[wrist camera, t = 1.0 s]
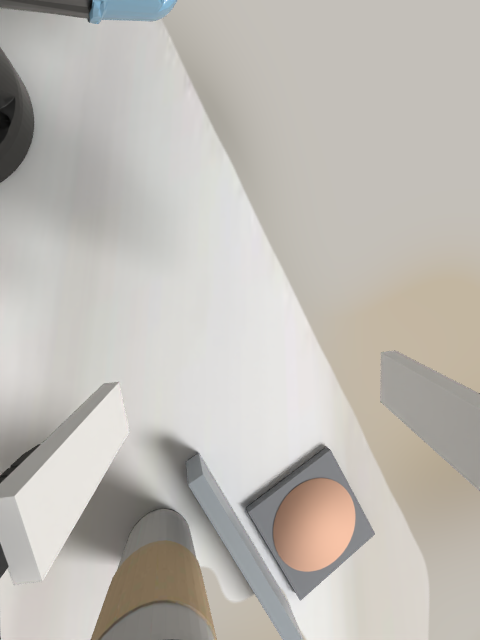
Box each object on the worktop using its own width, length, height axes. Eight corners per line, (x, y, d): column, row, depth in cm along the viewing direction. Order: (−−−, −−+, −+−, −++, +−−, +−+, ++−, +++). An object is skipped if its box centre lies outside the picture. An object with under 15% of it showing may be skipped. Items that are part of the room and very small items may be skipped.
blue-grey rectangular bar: (185, 461, 27) (187, 484, 23) (198, 452, 27) (203, 474, 23) (276, 611, 29) (292, 655, 25) (287, 601, 30) (305, 643, 26)
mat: (246, 507, 28) (248, 513, 28) (326, 446, 31) (330, 450, 30) (296, 593, 30) (300, 601, 29) (370, 528, 32) (375, 534, 31)
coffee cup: (185, 594, 27) (200, 915, 12) (89, 579, 25) (-29, 942, 10) (220, 501, 28) (272, 697, 13) (130, 478, 26) (75, 681, 11)
